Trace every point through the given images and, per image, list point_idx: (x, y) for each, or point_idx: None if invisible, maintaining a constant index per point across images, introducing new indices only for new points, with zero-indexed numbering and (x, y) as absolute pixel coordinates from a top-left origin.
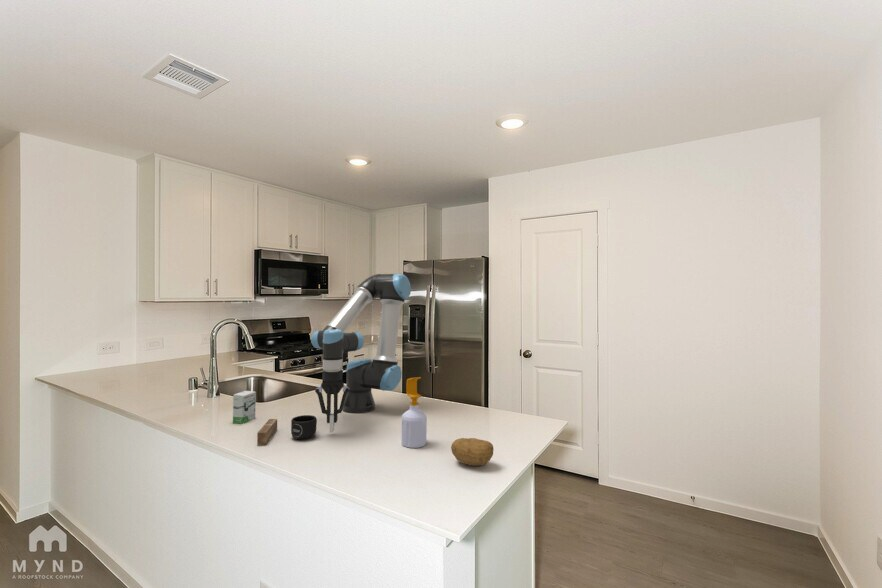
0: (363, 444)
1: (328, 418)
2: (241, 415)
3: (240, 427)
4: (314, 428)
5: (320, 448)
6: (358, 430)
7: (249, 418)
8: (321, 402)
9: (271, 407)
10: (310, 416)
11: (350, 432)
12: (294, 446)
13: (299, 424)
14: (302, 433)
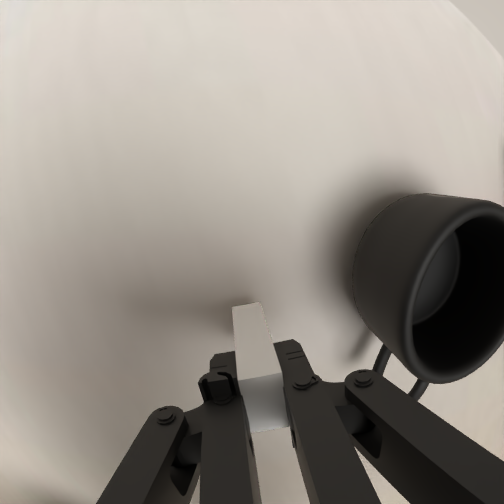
0: (21, 167)
1: (291, 363)
2: None
3: None
4: (372, 262)
5: (253, 72)
6: (114, 388)
7: None
8: (444, 448)
9: None
10: (439, 370)
11: (145, 361)
12: (410, 116)
13: (481, 200)
14: (424, 195)
